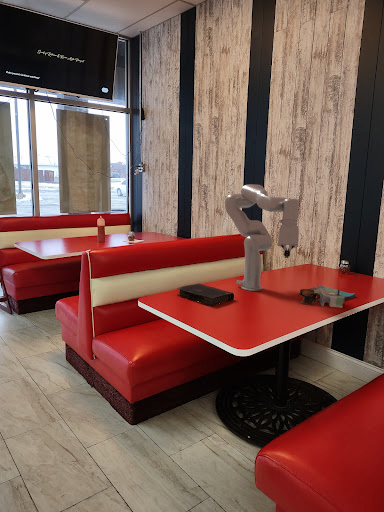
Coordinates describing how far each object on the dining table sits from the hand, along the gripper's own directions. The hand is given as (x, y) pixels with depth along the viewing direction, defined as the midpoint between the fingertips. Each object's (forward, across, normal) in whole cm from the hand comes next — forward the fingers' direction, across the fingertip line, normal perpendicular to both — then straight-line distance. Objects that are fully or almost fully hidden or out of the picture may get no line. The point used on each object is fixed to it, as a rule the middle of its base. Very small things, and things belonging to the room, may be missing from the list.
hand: (286, 257), depth 201 cm
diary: (+24, -41, -10) cm, 48 cm away
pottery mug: (+23, +13, -1) cm, 27 cm away
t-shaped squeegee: (+23, +25, 0) cm, 33 cm away
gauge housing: (+23, +26, 0) cm, 35 cm away
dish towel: (+24, +26, +19) cm, 40 cm away
